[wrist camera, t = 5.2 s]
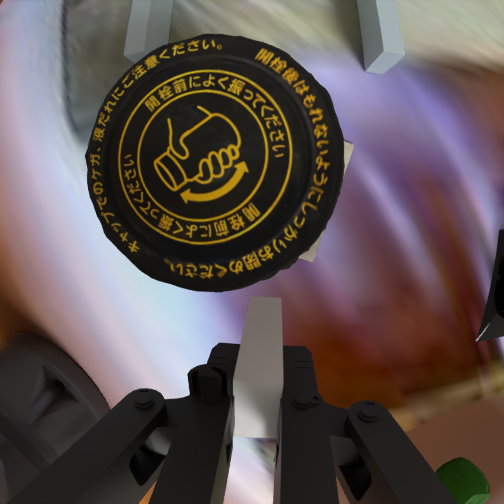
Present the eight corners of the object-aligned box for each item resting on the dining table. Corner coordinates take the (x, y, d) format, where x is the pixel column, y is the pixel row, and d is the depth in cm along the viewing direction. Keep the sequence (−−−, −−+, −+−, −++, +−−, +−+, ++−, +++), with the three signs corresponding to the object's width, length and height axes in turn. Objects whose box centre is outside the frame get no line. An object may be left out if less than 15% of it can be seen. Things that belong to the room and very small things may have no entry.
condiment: (214, 99, 16) (116, -12, 4) (353, 145, 16) (488, 103, 4) (177, 216, 17) (35, 285, 6) (312, 261, 18) (368, 402, 6)
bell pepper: (408, 478, 23) (427, 540, 13) (467, 441, 21) (497, 499, 12) (425, 492, 24) (442, 543, 15) (475, 460, 23) (500, 508, 13)
